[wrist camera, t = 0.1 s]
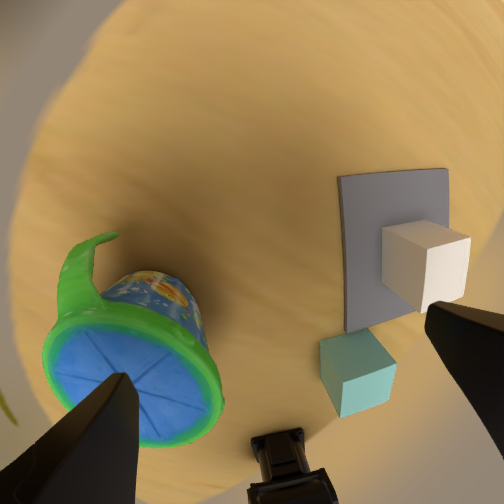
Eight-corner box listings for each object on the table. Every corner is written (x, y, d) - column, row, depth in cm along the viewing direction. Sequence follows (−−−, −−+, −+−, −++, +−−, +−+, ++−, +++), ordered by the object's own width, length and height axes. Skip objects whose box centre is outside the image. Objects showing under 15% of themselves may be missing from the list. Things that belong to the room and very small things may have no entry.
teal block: (363, 363, 27) (388, 400, 21) (320, 377, 27) (339, 418, 21) (366, 327, 25) (396, 363, 20) (319, 340, 25) (343, 382, 19)
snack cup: (71, 231, 19) (-8, 280, 9) (195, 201, 20) (177, 237, 10) (131, 382, 24) (110, 464, 14) (234, 370, 25) (247, 460, 15)
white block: (422, 270, 24) (463, 295, 18) (381, 282, 23) (420, 313, 18) (424, 219, 22) (470, 237, 16) (381, 227, 22) (427, 249, 16)
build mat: (437, 298, 26) (441, 300, 25) (344, 330, 25) (346, 333, 24) (444, 168, 21) (448, 168, 21) (337, 176, 20) (340, 177, 20)
